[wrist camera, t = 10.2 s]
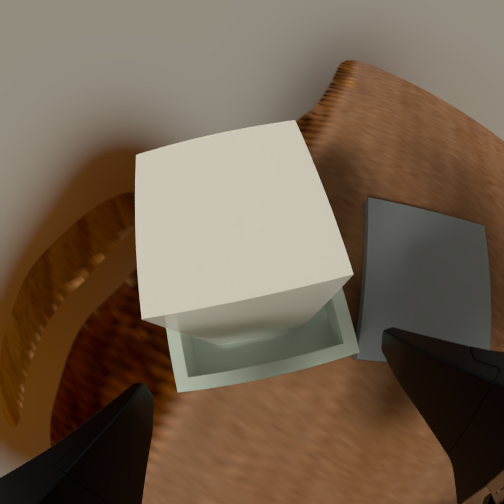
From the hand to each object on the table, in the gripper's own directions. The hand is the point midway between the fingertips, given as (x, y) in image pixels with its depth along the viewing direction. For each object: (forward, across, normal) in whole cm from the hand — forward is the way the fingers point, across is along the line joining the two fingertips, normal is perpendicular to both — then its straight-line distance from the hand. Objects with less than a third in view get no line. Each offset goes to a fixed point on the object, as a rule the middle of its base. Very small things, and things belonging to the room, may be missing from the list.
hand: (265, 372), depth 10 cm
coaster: (+8, +14, -5) cm, 16 cm away
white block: (+9, 0, -2) cm, 10 cm away
